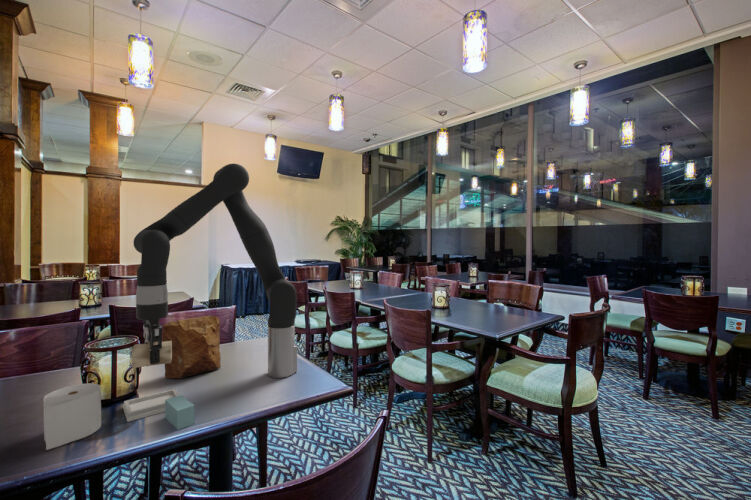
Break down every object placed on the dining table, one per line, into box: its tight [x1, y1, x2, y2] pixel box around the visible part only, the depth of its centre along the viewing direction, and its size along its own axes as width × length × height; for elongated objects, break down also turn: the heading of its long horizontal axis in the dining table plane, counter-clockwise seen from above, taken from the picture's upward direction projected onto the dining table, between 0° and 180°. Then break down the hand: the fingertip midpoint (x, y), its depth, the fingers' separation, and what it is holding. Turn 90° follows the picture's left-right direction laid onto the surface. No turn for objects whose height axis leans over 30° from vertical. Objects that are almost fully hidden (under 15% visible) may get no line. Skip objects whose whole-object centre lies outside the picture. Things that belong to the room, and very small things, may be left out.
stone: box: [162, 315, 222, 380], centre depth 123 cm, size 19×11×20 cm, turn 122°
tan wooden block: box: [131, 341, 172, 369], centre depth 98 cm, size 9×5×5 cm, turn 117°
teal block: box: [164, 394, 196, 431], centre depth 91 cm, size 4×9×5 cm, turn 48°
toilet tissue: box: [42, 382, 102, 451], centre depth 85 cm, size 11×12×10 cm
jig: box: [122, 388, 179, 423], centre depth 98 cm, size 13×10×2 cm
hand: (152, 360), depth 98 cm, fingers closed on tan wooden block, 5 cm apart
